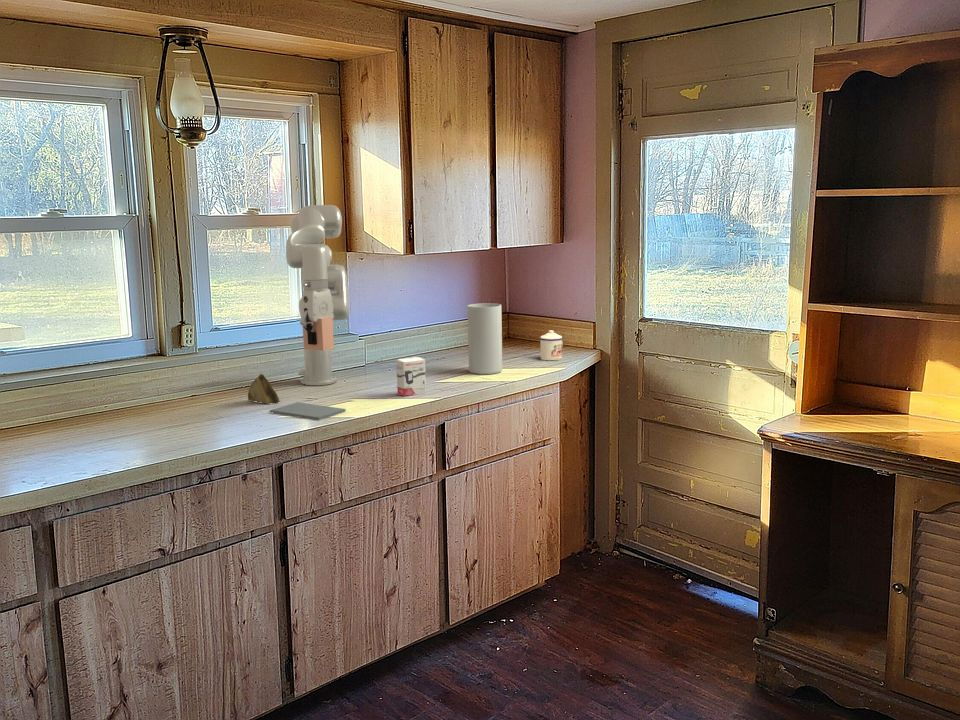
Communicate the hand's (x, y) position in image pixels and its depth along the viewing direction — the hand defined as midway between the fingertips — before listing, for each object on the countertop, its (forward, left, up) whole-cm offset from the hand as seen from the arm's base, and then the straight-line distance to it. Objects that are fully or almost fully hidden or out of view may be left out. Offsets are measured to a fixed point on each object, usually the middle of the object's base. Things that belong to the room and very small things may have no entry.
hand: (318, 342), depth 272 cm
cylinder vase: (+19, +70, -20) cm, 75 cm away
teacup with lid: (+29, +106, -20) cm, 111 cm away
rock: (-19, -6, -20) cm, 29 cm away
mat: (+4, -10, -20) cm, 23 cm away
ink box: (+17, +26, -20) cm, 37 cm away
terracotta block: (0, 0, -2) cm, 2 cm away
